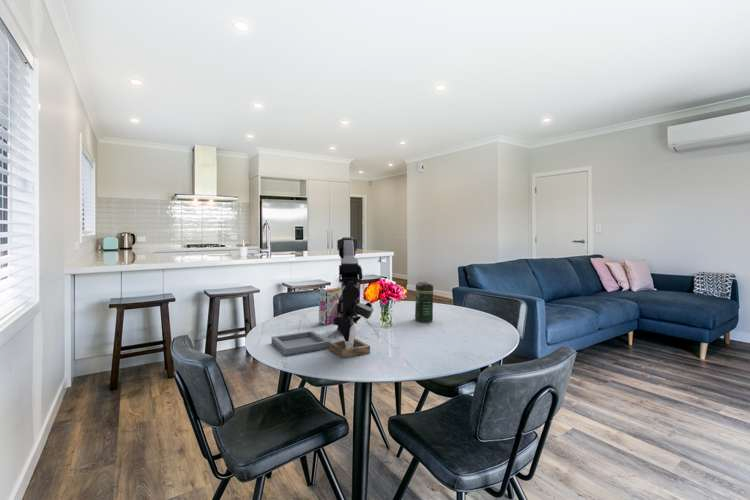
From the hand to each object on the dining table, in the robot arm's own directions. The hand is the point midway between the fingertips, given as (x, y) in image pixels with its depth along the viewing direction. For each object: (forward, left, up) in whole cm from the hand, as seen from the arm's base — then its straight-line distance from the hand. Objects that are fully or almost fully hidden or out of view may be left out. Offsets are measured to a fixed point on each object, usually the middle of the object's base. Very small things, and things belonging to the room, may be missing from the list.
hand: (349, 338), depth 138 cm
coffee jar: (-53, -22, -5) cm, 58 cm away
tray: (+13, -15, -4) cm, 20 cm away
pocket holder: (0, 0, -4) cm, 4 cm away
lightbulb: (0, 0, -5) cm, 5 cm away
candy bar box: (-12, -41, -5) cm, 43 cm away
